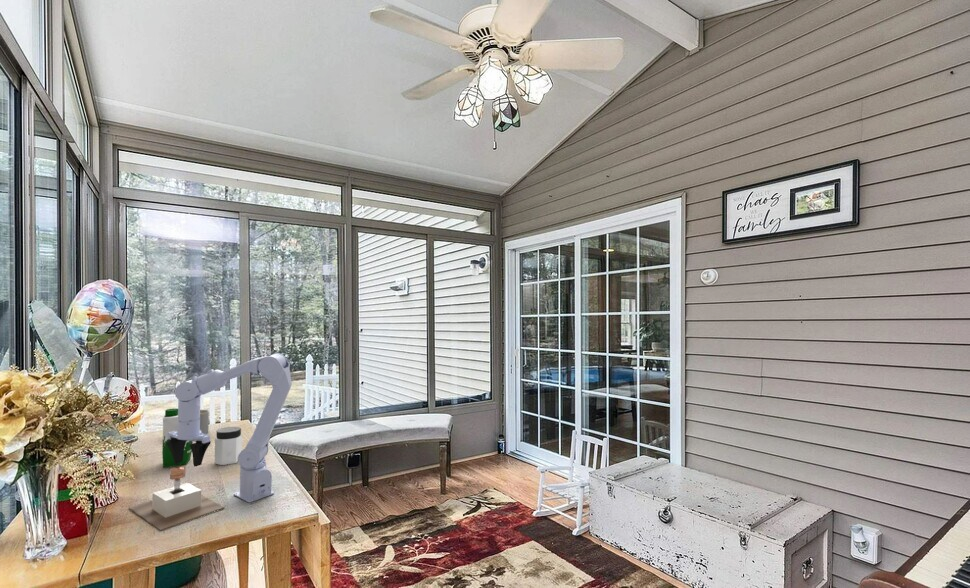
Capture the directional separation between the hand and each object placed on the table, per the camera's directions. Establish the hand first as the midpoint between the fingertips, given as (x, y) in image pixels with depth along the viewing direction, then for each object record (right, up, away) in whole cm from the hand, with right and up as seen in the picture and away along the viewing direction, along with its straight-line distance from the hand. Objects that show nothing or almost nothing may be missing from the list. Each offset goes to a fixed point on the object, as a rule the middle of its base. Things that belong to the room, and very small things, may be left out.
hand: (187, 464), depth 138 cm
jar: (-6, -11, +32) cm, 34 cm away
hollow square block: (+2, -10, -7) cm, 13 cm away
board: (+2, -10, -7) cm, 13 cm away
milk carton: (-23, -11, +29) cm, 39 cm away
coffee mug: (-41, -11, +64) cm, 77 cm away
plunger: (+2, -6, -7) cm, 9 cm away
